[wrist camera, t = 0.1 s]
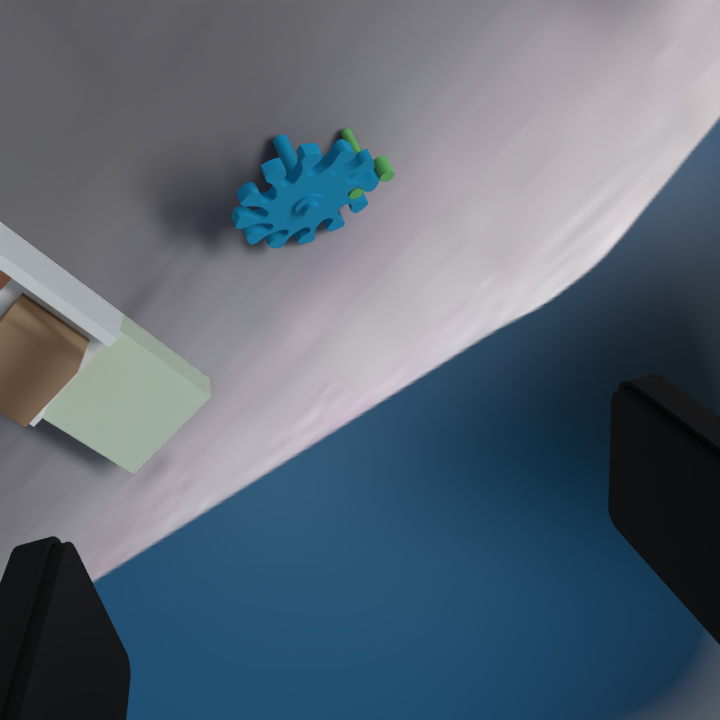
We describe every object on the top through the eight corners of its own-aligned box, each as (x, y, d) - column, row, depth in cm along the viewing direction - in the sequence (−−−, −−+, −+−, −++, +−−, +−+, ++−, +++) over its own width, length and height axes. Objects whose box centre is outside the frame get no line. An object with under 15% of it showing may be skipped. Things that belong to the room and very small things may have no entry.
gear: (243, 270, 45) (233, 185, 36) (215, 202, 46) (199, 103, 37) (385, 226, 47) (410, 136, 38) (354, 163, 49) (372, 62, 40)
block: (-27, 346, 41) (-53, 380, 37) (22, 292, 41) (1, 321, 36) (42, 389, 44) (25, 427, 39) (89, 339, 43) (77, 372, 39)
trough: (-215, 228, 39) (-261, 248, 35) (-131, 124, 38) (-169, 132, 34) (136, 452, 51) (131, 485, 47) (209, 378, 50) (211, 406, 46)
